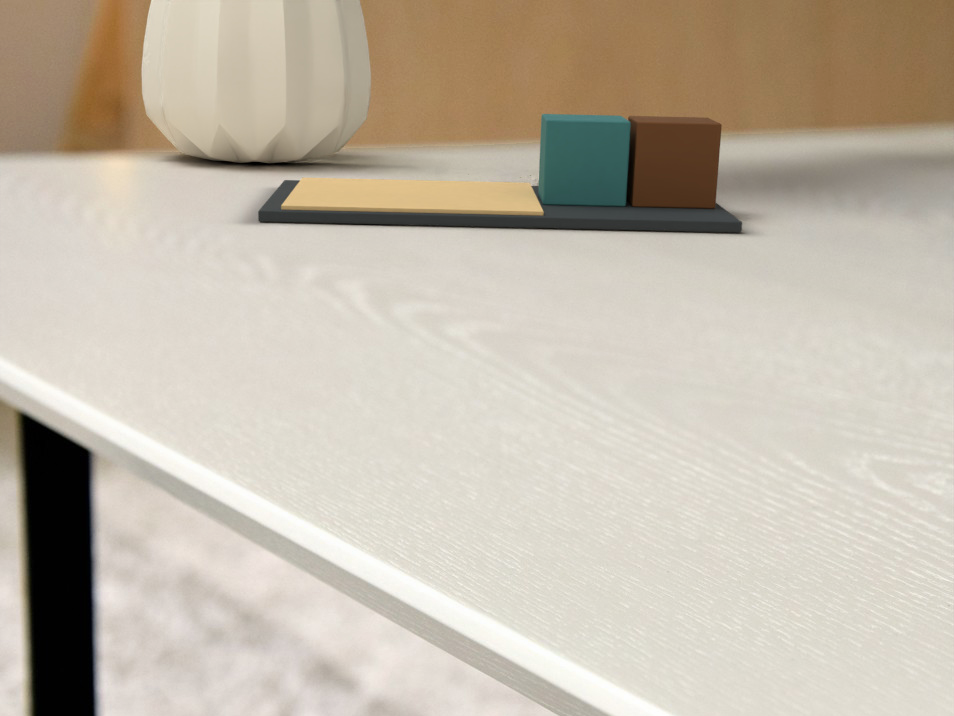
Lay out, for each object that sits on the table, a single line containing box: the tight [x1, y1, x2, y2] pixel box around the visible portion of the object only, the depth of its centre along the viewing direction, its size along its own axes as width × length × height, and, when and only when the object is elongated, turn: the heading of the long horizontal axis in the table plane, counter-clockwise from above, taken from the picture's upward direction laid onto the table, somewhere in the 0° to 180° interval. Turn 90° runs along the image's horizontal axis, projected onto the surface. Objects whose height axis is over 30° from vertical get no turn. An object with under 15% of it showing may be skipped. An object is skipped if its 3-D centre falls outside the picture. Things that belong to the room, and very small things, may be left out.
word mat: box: [257, 113, 743, 234], centre depth 80 cm, size 22×13×4 cm, turn 89°
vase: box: [140, 0, 372, 164], centre depth 100 cm, size 14×14×13 cm
